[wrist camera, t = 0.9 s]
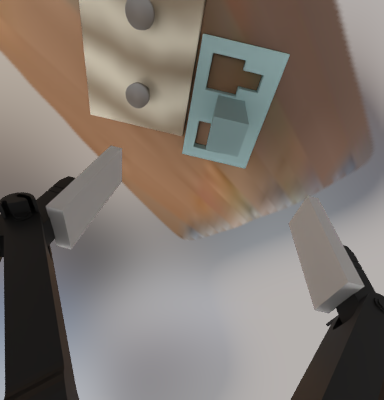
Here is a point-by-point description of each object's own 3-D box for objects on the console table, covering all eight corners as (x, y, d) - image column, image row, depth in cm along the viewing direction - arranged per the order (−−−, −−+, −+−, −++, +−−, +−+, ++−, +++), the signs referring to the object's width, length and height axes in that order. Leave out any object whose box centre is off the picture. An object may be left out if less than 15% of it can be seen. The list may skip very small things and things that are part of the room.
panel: (204, 33, 26) (191, 34, 17) (287, 53, 26) (313, 64, 17) (183, 149, 35) (169, 185, 27) (244, 163, 35) (248, 204, 27)
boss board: (77, -68, 22) (50, -85, 19) (211, -35, 22) (208, -46, 19) (93, 112, 33) (78, 121, 30) (183, 133, 33) (178, 145, 30)
